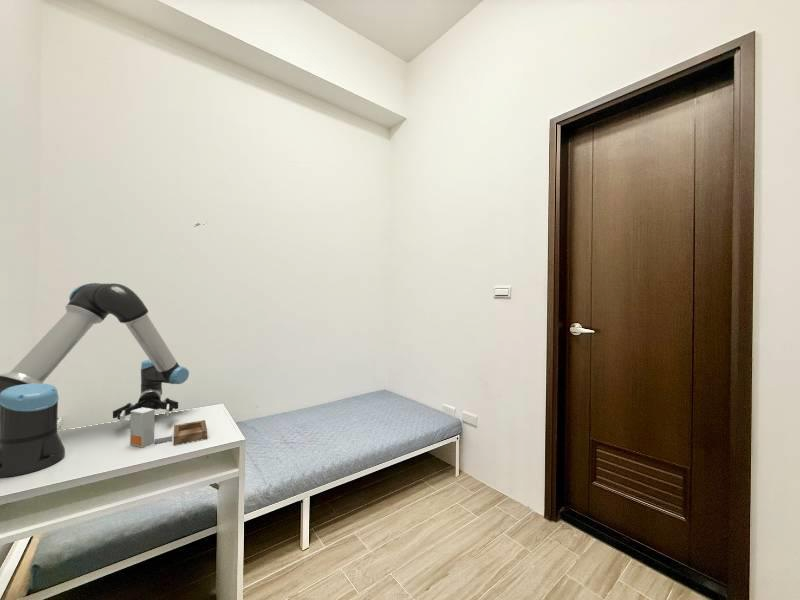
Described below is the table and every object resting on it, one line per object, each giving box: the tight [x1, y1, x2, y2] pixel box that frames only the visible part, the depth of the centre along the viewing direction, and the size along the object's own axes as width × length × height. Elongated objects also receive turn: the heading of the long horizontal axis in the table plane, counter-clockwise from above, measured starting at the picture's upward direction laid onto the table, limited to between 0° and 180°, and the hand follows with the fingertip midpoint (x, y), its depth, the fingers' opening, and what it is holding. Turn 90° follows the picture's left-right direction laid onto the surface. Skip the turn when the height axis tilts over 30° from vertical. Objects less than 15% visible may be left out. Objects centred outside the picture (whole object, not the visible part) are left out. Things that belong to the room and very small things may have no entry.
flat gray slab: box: [153, 435, 173, 445], centre depth 115 cm, size 5×4×1 cm
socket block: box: [172, 419, 208, 446], centre depth 119 cm, size 10×12×3 cm
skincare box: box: [129, 407, 156, 449], centre depth 112 cm, size 6×4×12 cm
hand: (145, 416), depth 120 cm, fingers open, 13 cm apart
